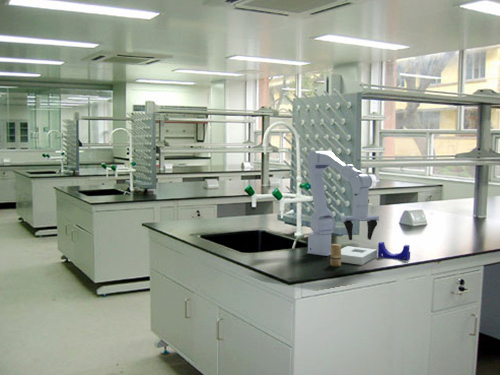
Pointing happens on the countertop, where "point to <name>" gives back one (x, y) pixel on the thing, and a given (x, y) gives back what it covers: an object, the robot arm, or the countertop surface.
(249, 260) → the countertop surface
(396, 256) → the blue cradle bracket
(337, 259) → the oak peg
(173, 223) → the countertop surface
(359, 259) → the hole board
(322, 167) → the robot arm
